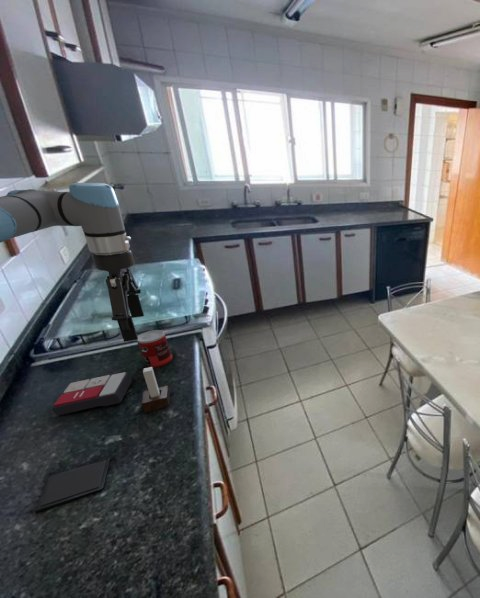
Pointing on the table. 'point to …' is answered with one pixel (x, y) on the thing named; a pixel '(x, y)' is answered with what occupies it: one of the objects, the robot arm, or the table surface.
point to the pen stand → (156, 400)
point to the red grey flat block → (93, 393)
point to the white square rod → (151, 382)
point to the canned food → (154, 348)
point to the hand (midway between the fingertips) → (134, 327)
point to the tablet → (73, 485)
